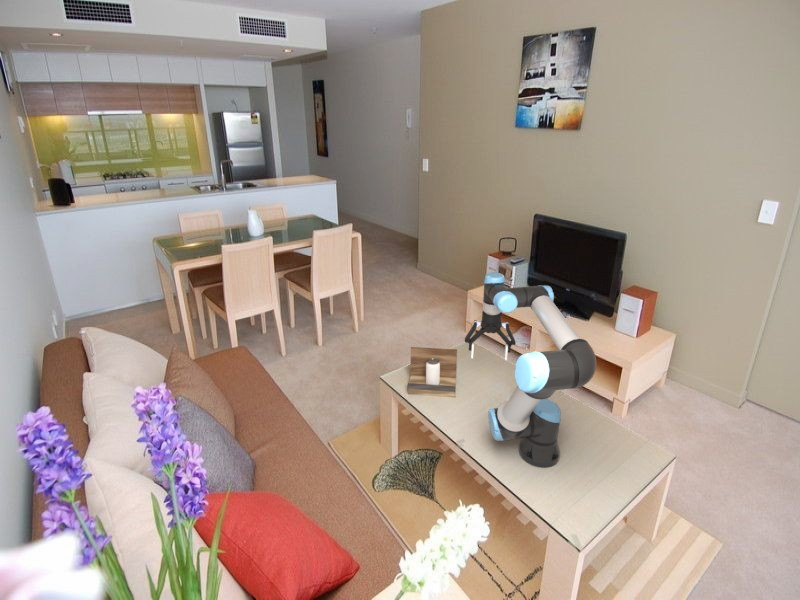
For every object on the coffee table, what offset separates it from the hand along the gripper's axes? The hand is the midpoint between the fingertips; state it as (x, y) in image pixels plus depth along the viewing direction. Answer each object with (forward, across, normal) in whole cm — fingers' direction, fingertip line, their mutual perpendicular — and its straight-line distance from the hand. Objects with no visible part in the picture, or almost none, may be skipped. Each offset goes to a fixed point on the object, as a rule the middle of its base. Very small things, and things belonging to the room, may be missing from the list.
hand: (488, 357), depth 191 cm
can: (+26, +24, -18) cm, 39 cm away
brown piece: (+29, +24, -18) cm, 42 cm away
